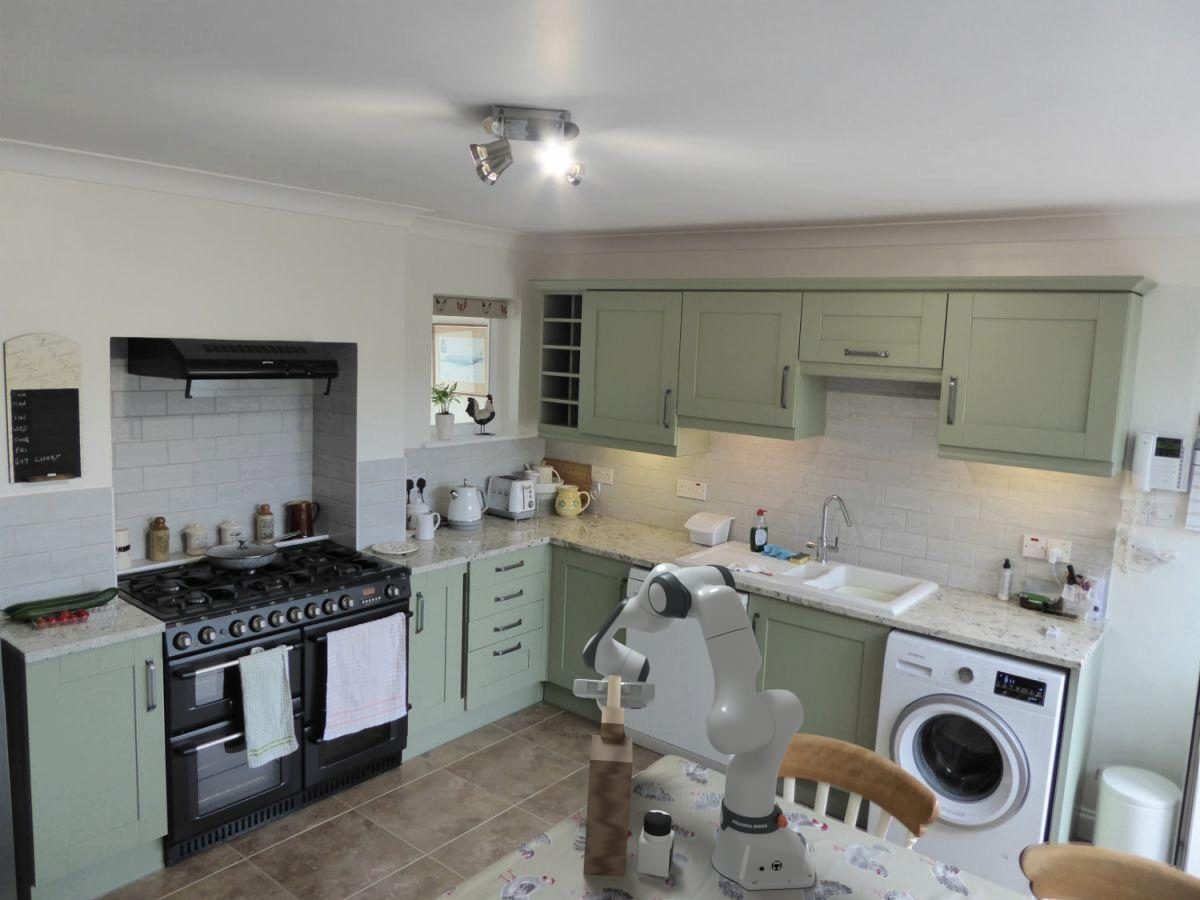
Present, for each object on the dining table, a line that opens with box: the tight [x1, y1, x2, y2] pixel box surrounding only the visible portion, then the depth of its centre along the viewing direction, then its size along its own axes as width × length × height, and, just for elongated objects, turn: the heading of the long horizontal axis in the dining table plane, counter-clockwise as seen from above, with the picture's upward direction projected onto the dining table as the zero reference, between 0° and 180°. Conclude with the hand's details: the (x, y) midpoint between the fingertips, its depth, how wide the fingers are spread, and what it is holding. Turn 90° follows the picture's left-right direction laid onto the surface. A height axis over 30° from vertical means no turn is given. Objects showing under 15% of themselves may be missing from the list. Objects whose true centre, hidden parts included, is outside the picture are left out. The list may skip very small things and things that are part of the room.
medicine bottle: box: [636, 809, 675, 879], centre depth 191 cm, size 7×7×12 cm
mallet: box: [600, 676, 625, 739], centre depth 203 cm, size 5×20×4 cm, turn 178°
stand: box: [582, 734, 634, 878], centre depth 191 cm, size 9×12×26 cm
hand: (614, 685), depth 209 cm, fingers closed on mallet, 3 cm apart
